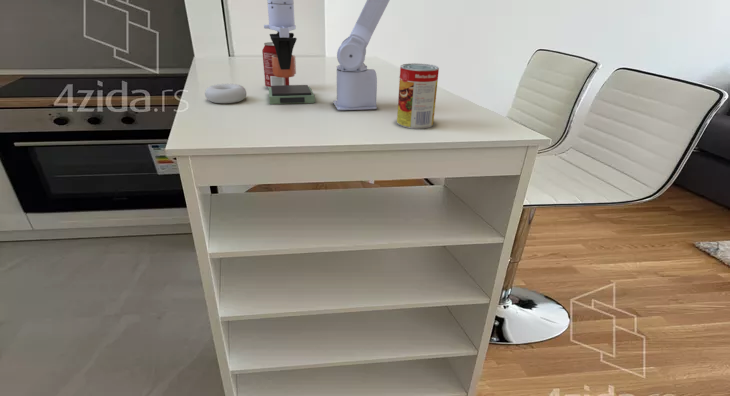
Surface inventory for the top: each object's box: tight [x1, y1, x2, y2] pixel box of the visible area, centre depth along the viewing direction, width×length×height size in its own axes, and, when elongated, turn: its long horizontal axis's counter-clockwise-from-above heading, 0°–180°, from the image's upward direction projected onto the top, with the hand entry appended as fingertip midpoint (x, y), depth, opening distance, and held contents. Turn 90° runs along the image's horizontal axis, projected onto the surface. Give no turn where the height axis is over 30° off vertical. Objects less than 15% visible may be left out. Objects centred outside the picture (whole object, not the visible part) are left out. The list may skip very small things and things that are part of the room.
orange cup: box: [272, 54, 297, 78], centre depth 100 cm, size 5×5×4 cm
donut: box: [204, 83, 247, 104], centre depth 106 cm, size 10×3×10 cm
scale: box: [268, 84, 316, 105], centre depth 109 cm, size 11×11×2 cm
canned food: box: [396, 62, 440, 130], centre depth 89 cm, size 8×8×12 cm
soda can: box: [262, 41, 290, 89], centre depth 118 cm, size 7×7×12 cm
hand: (284, 67), depth 100 cm, fingers closed on orange cup, 5 cm apart
